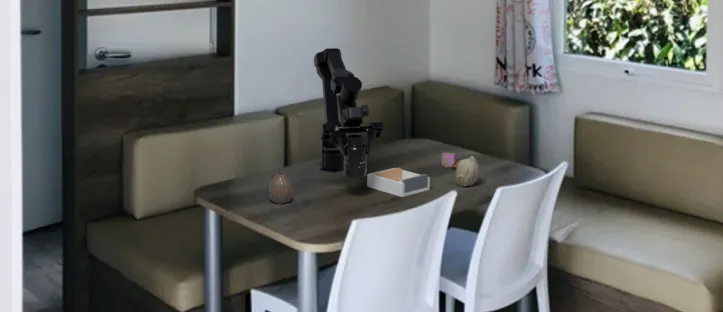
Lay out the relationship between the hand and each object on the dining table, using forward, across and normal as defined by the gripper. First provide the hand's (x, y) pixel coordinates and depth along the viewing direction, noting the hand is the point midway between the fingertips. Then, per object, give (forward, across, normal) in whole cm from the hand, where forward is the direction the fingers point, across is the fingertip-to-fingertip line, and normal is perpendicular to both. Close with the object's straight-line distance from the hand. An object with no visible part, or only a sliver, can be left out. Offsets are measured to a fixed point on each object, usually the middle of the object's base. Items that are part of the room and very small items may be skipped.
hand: (356, 154), depth 286 cm
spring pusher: (0, +13, +17) cm, 21 cm away
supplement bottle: (+4, 0, +6) cm, 7 cm away
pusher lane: (+4, +15, +15) cm, 21 cm away
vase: (+9, -23, +10) cm, 26 cm away
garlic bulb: (+5, +37, +14) cm, 40 cm away
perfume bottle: (-11, +42, +31) cm, 53 cm away
